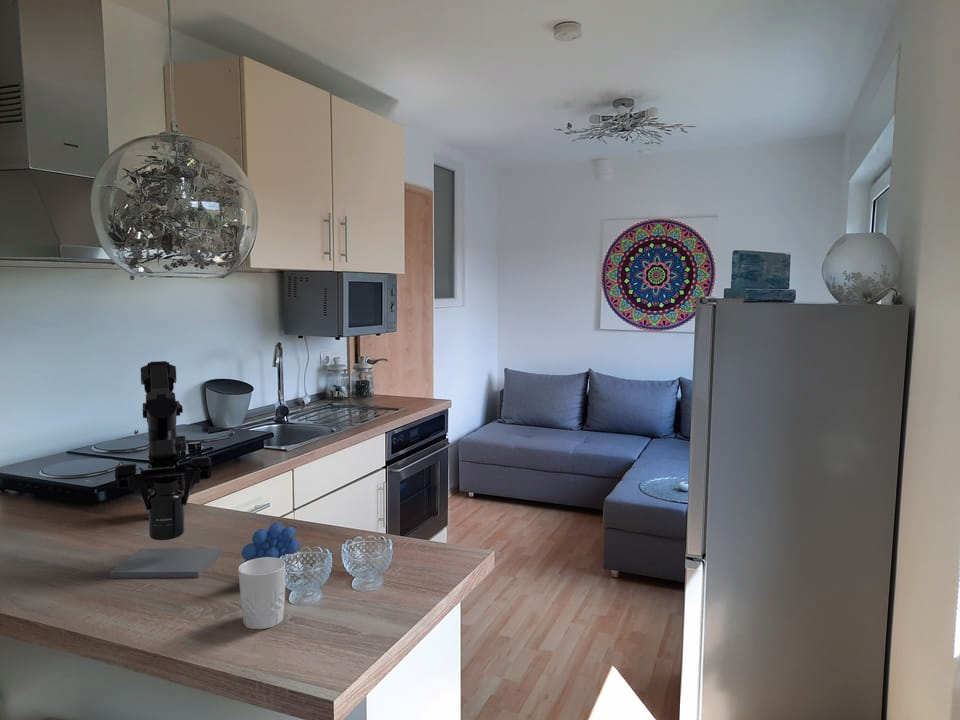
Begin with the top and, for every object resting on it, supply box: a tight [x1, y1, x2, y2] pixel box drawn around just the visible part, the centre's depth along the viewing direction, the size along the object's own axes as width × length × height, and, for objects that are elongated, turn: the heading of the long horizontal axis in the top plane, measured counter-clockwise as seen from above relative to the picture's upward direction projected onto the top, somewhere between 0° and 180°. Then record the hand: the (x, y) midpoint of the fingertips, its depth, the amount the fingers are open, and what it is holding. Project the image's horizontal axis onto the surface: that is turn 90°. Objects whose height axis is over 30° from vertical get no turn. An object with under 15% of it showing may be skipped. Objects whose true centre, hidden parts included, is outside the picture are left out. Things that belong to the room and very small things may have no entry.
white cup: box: [237, 557, 286, 630], centre depth 116 cm, size 8×8×10 cm
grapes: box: [241, 521, 301, 564], centre depth 133 cm, size 12×7×12 cm, turn 121°
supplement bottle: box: [148, 478, 185, 541], centre depth 140 cm, size 7×7×12 cm
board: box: [109, 547, 224, 579], centre depth 141 cm, size 18×13×1 cm
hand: (166, 506), depth 139 cm, fingers closed on supplement bottle, 7 cm apart
